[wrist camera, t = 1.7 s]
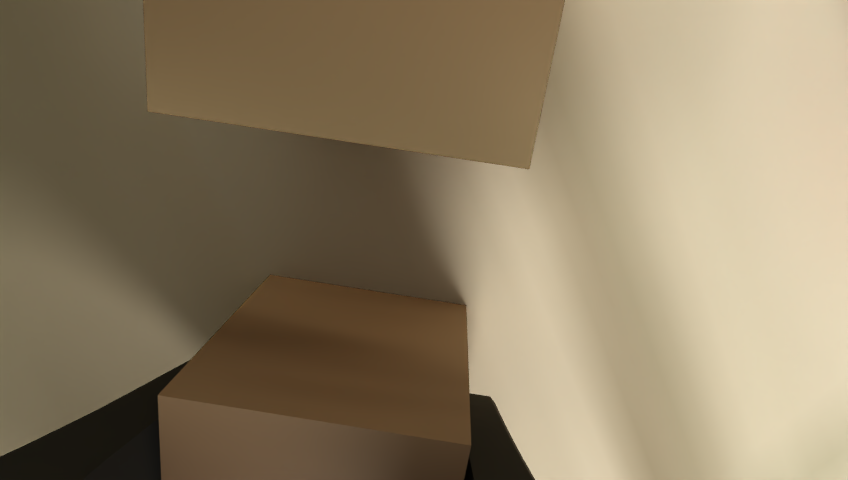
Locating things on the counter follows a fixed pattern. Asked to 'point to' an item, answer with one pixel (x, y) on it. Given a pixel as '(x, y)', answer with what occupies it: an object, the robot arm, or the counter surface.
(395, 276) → the counter surface
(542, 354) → the counter surface
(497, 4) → the block
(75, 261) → the counter surface
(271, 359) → the block
